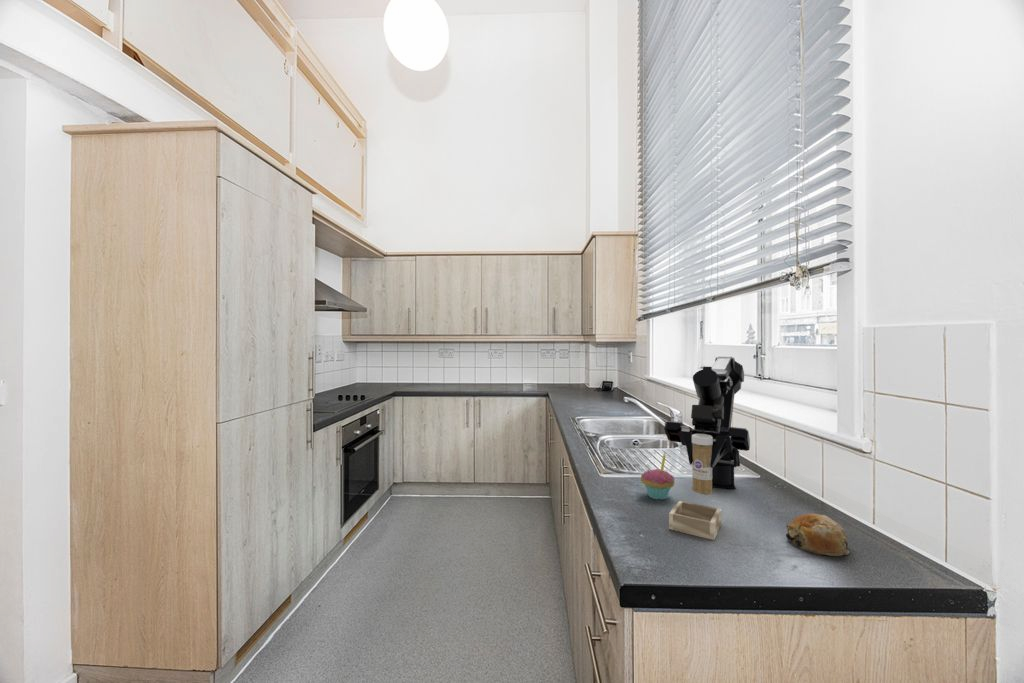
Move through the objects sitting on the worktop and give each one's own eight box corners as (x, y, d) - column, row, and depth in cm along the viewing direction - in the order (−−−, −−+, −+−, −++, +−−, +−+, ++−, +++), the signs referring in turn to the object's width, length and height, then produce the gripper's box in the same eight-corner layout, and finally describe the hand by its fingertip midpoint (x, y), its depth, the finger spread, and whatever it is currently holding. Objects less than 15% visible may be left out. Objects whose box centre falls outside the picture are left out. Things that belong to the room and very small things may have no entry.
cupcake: (669, 491, 117) (669, 448, 117) (678, 503, 109) (678, 456, 109) (638, 490, 118) (637, 447, 118) (644, 502, 110) (644, 455, 110)
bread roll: (840, 579, 80) (863, 546, 78) (781, 544, 85) (802, 511, 83) (834, 556, 89) (854, 525, 87) (781, 525, 93) (799, 496, 92)
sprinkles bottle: (690, 492, 100) (689, 435, 100) (694, 486, 104) (694, 432, 104) (711, 496, 98) (710, 438, 98) (714, 490, 101) (714, 434, 101)
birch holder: (679, 515, 101) (679, 500, 101) (721, 524, 96) (721, 509, 96) (669, 529, 94) (669, 513, 94) (714, 540, 89) (713, 523, 89)
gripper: (665, 389, 109) (653, 441, 100) (748, 394, 99) (742, 452, 90) (674, 415, 116) (663, 465, 107) (752, 422, 105) (747, 479, 96)
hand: (700, 465), depth 100 cm, fingers closed on sprinkles bottle, 4 cm apart
